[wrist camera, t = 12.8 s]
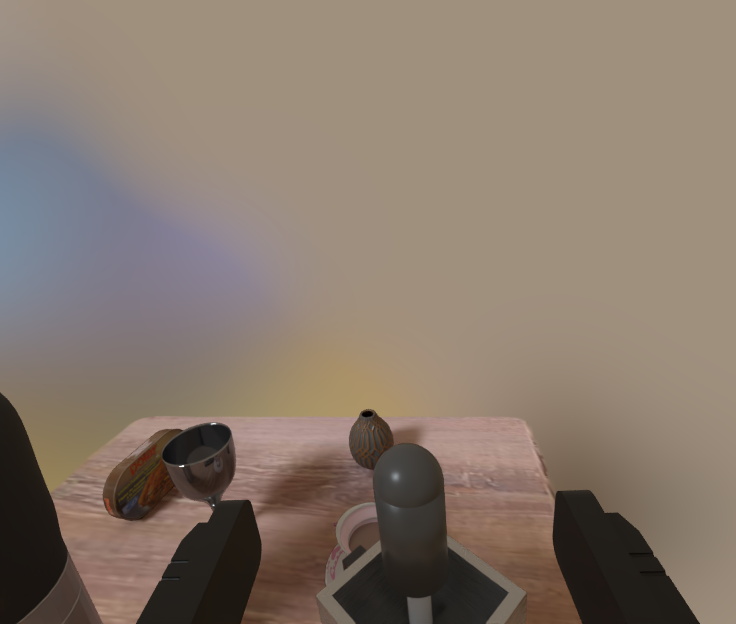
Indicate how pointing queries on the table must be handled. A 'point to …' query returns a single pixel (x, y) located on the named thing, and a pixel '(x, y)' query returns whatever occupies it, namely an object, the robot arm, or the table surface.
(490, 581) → the square planter box
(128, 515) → the tin
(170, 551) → the table surface
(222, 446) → the wine glass
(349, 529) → the teacup
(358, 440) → the vase
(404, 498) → the screwdriver
